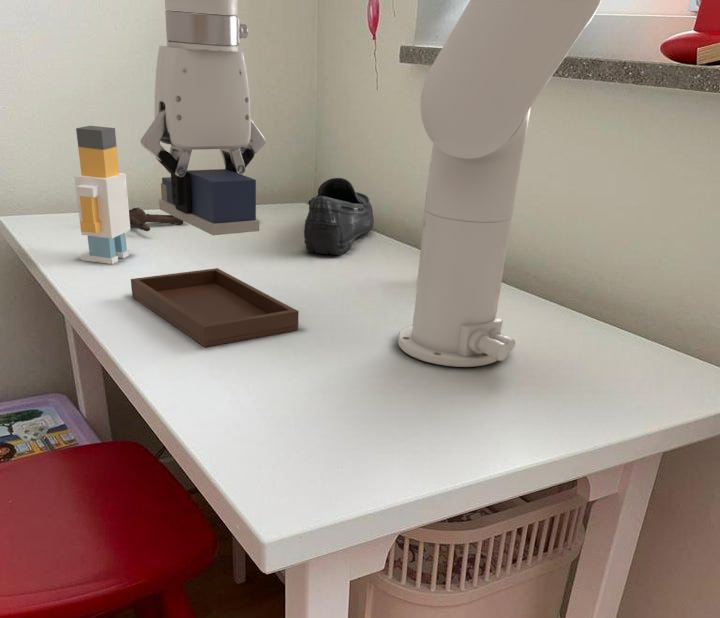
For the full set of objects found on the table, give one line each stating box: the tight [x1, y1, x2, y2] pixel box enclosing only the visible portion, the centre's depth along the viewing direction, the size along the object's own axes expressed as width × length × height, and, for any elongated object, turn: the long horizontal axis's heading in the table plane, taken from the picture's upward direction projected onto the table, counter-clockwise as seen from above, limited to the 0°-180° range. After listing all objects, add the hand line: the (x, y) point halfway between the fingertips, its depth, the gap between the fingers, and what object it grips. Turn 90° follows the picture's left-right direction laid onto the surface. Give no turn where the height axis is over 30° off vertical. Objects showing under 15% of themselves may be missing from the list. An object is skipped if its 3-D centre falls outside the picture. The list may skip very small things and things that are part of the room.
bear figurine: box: [129, 207, 184, 232], centre depth 134 cm, size 18×4×14 cm
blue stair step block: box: [158, 168, 260, 236], centre depth 91 cm, size 6×14×6 cm, turn 37°
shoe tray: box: [130, 267, 300, 348], centre depth 97 cm, size 21×13×2 cm, turn 37°
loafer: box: [303, 177, 375, 256], centre depth 134 cm, size 10×29×10 cm, turn 174°
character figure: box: [74, 125, 131, 265], centre depth 112 cm, size 8×10×18 cm
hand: (207, 208), depth 91 cm, fingers closed on blue stair step block, 5 cm apart
